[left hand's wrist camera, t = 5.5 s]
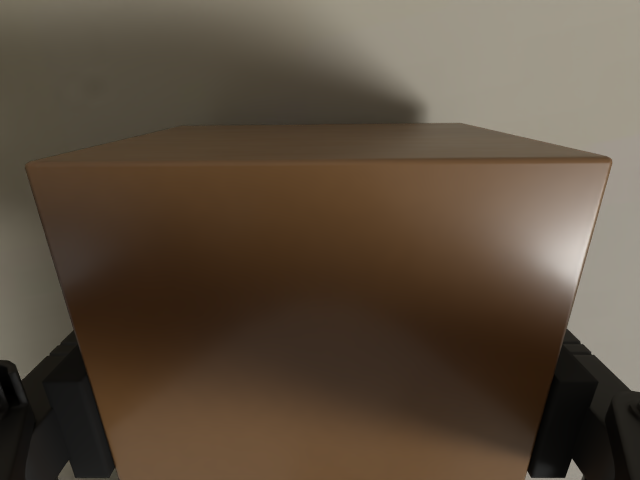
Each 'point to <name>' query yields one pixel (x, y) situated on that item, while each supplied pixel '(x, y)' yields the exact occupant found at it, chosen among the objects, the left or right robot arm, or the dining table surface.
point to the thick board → (320, 295)
